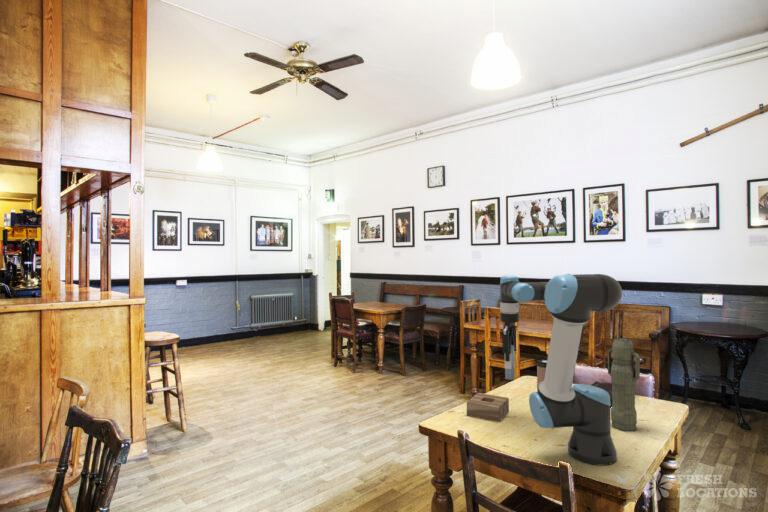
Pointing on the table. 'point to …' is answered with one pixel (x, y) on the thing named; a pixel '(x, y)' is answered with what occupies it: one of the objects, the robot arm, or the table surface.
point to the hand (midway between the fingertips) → (509, 367)
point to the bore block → (488, 407)
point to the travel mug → (541, 371)
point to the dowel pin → (510, 372)
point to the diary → (604, 388)
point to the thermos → (623, 383)
